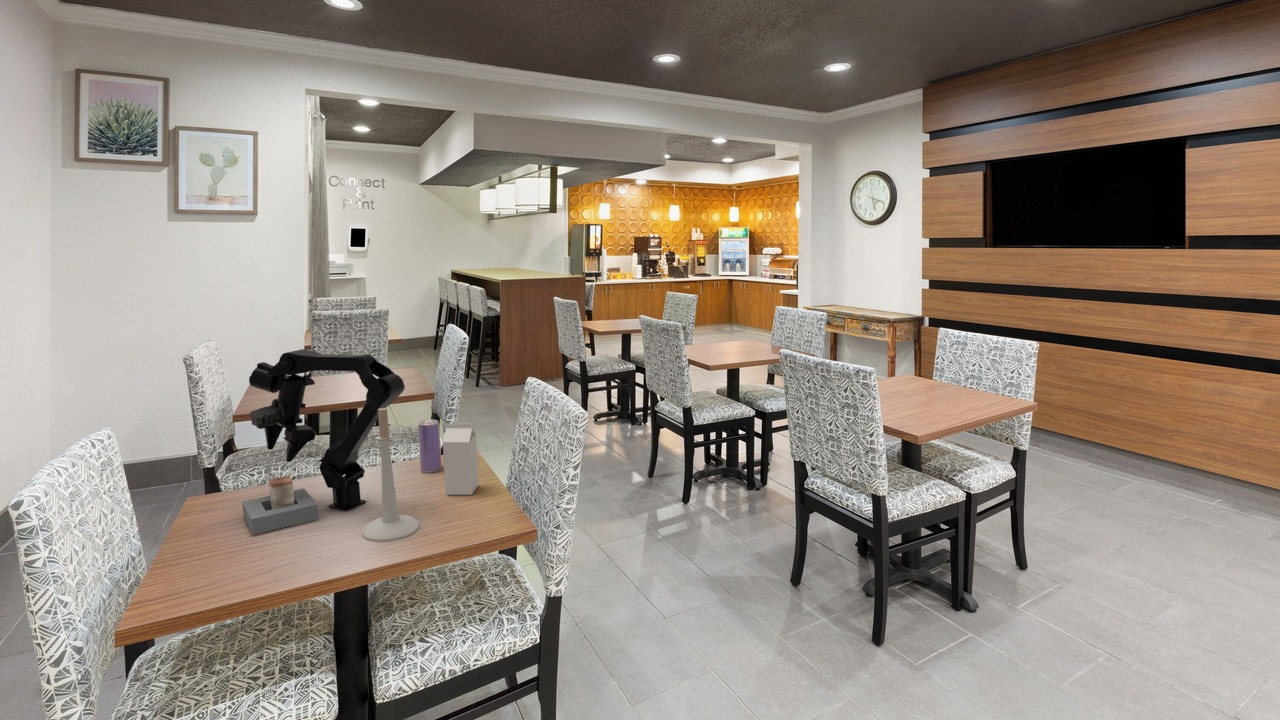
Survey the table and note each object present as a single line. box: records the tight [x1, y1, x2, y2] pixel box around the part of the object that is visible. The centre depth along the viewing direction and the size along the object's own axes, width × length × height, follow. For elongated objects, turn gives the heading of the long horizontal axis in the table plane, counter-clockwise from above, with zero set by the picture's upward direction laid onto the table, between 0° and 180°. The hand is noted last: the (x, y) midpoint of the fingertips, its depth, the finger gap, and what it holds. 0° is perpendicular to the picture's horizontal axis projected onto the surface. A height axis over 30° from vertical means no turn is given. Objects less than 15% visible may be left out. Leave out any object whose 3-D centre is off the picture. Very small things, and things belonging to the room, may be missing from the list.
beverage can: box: [417, 419, 442, 474], centre depth 192 cm, size 6×6×15 cm
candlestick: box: [361, 407, 421, 542], centre depth 149 cm, size 13×13×30 cm
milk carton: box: [442, 423, 479, 496], centre depth 175 cm, size 7×7×19 cm
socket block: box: [242, 488, 319, 536], centre depth 158 cm, size 14×14×4 cm
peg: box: [268, 474, 295, 509], centre depth 158 cm, size 4×4×10 cm
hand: (279, 455), depth 165 cm, fingers open, 9 cm apart
